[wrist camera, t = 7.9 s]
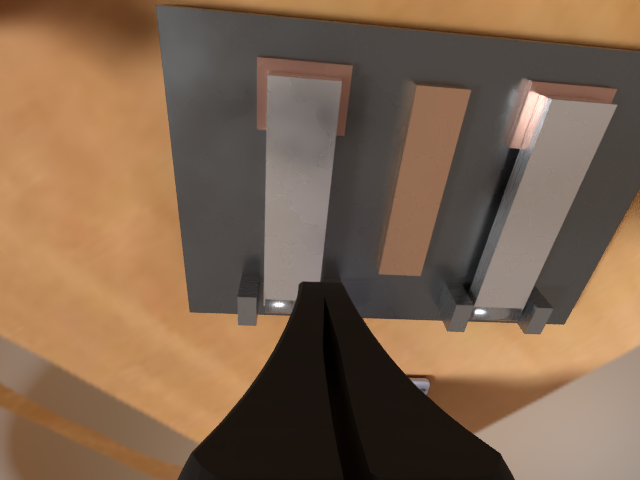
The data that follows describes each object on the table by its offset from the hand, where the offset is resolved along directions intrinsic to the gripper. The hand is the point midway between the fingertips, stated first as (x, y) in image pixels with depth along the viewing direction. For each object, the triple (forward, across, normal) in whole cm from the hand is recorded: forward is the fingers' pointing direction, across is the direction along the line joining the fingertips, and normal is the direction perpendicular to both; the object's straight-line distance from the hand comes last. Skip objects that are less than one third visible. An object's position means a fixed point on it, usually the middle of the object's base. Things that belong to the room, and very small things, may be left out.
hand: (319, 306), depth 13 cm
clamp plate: (+10, -5, 0) cm, 12 cm away
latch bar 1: (+9, +1, +1) cm, 9 cm away
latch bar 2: (+9, -11, +1) cm, 14 cm away
